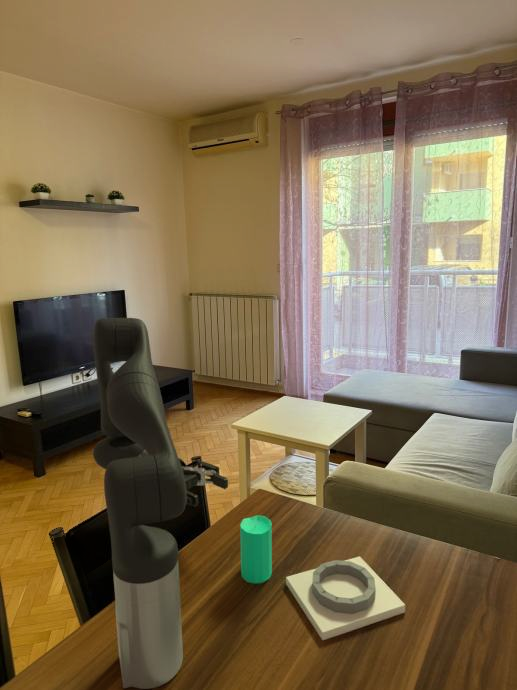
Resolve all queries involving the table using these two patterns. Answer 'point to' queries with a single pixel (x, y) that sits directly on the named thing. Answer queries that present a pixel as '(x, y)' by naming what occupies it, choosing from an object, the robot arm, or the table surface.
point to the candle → (256, 549)
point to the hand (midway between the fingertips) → (212, 492)
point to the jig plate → (343, 596)
